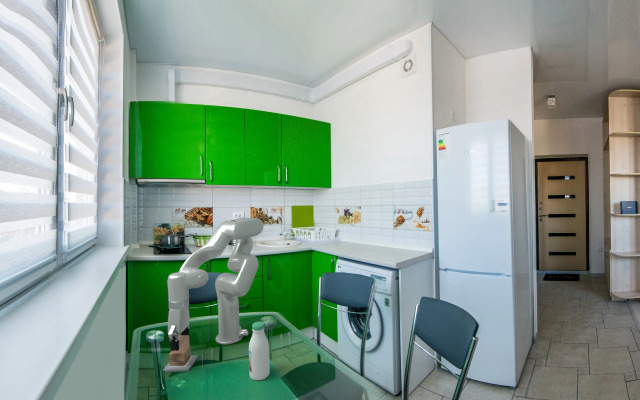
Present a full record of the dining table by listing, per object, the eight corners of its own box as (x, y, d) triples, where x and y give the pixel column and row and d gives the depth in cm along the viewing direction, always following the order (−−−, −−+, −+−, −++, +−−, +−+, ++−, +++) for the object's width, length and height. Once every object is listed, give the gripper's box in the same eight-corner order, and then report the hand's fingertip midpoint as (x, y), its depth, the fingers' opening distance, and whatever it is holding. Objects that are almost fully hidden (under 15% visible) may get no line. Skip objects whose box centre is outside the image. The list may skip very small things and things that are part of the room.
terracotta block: (189, 346, 128) (188, 335, 128) (184, 353, 123) (183, 341, 123) (177, 347, 128) (177, 335, 128) (171, 353, 123) (171, 341, 123)
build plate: (198, 357, 131) (197, 355, 131) (188, 370, 121) (188, 368, 121) (174, 357, 131) (174, 355, 131) (163, 371, 121) (162, 369, 121)
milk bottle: (273, 370, 120) (271, 320, 119) (263, 382, 112) (262, 329, 112) (256, 367, 122) (254, 318, 122) (245, 378, 115) (243, 326, 114)
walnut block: (190, 357, 129) (190, 346, 129) (184, 365, 123) (184, 353, 123) (176, 358, 129) (175, 346, 129) (169, 366, 123) (169, 354, 123)
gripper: (179, 296, 133) (180, 334, 134) (159, 311, 116) (160, 355, 117) (196, 295, 134) (197, 334, 134) (178, 311, 116) (180, 355, 117)
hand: (180, 344), depth 125 cm, fingers open, 9 cm apart
